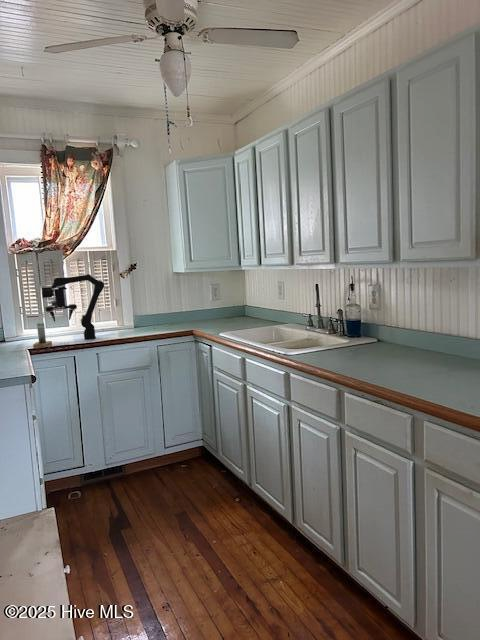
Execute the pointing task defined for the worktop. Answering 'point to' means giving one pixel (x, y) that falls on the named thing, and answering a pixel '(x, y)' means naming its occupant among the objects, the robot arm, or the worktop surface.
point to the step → (42, 344)
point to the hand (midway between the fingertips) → (62, 321)
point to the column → (41, 333)
